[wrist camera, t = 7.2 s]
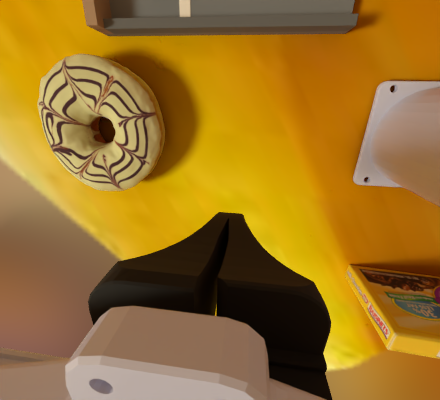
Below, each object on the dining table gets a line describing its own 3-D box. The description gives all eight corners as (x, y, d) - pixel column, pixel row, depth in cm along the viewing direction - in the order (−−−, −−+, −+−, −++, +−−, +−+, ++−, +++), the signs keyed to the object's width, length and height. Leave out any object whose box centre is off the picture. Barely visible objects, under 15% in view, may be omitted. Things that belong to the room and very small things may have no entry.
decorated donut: (53, 147, 23) (17, 155, 19) (79, 34, 18) (39, 18, 15) (144, 199, 23) (126, 215, 20) (189, 104, 19) (176, 103, 16)
